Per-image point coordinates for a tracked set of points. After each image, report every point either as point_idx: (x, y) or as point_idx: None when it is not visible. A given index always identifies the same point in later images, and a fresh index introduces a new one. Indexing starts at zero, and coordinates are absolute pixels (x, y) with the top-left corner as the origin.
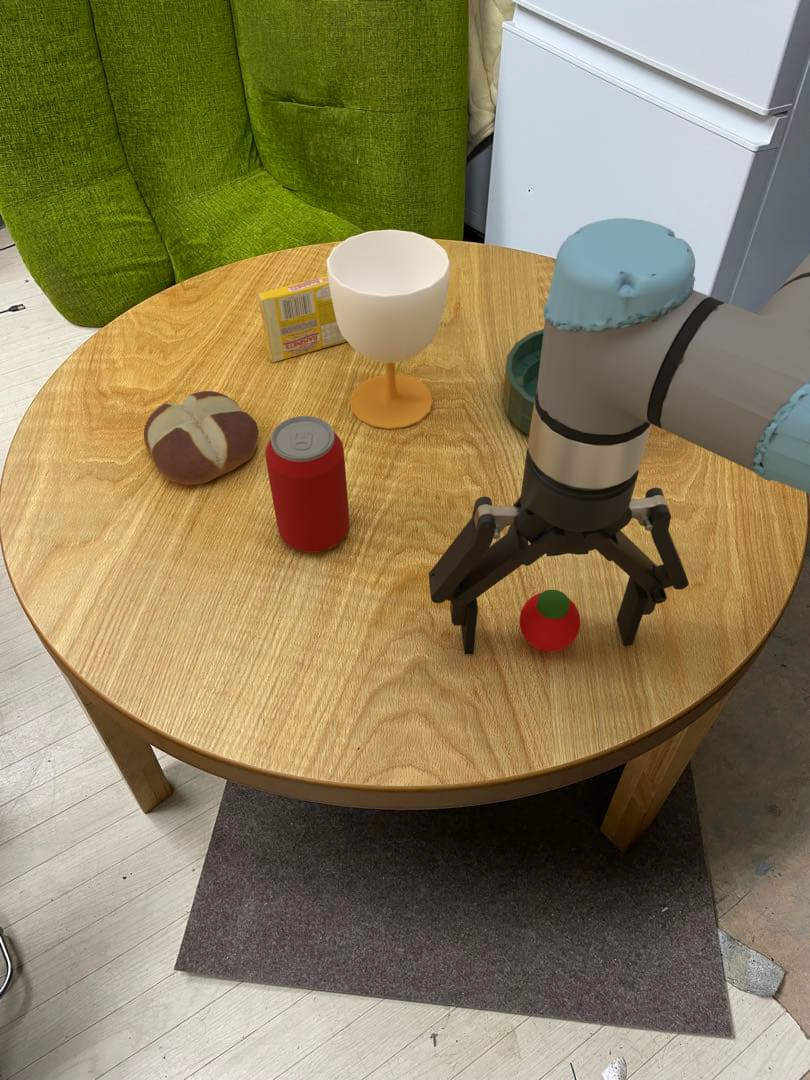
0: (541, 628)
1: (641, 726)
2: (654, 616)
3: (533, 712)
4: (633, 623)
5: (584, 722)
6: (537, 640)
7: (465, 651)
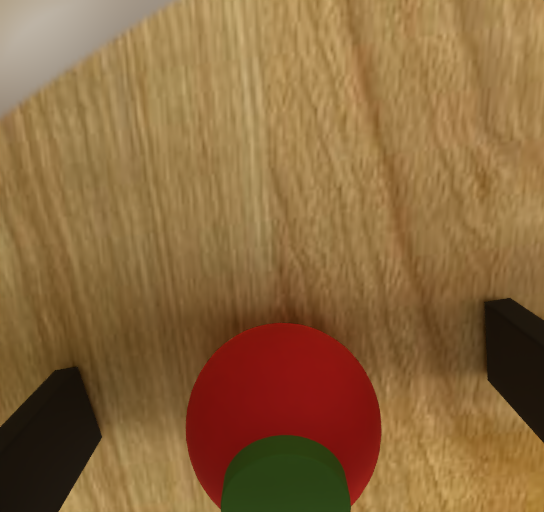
0: (323, 392)
1: (7, 120)
2: None
3: (318, 133)
4: (6, 438)
5: (170, 115)
6: (326, 348)
7: (516, 304)
